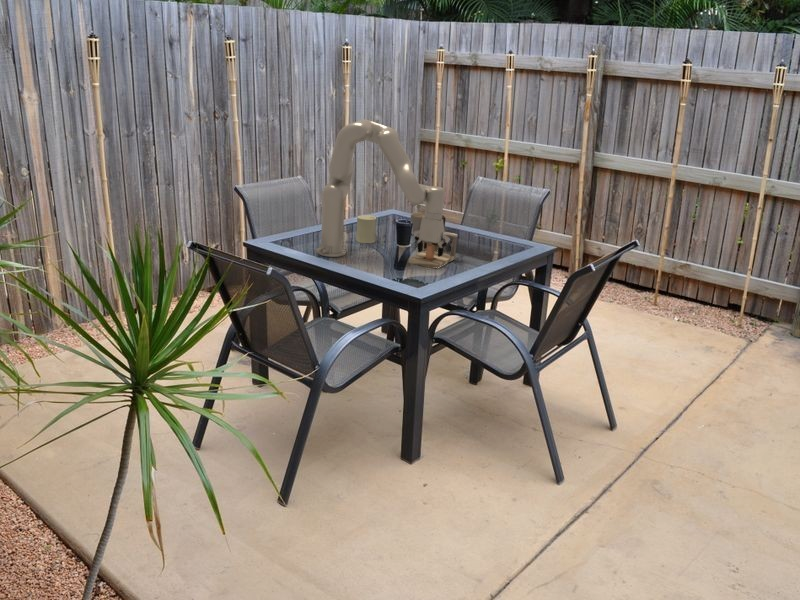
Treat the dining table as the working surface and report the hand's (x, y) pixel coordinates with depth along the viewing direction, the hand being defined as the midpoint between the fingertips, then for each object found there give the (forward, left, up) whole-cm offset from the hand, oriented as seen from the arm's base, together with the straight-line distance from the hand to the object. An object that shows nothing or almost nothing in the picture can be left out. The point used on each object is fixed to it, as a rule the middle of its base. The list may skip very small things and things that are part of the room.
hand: (429, 253), depth 319 cm
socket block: (+3, 0, -4) cm, 5 cm away
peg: (0, 0, -4) cm, 4 cm away
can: (+12, +40, -4) cm, 42 cm away
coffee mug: (+41, +26, -4) cm, 49 cm away
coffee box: (+21, +9, -4) cm, 23 cm away
